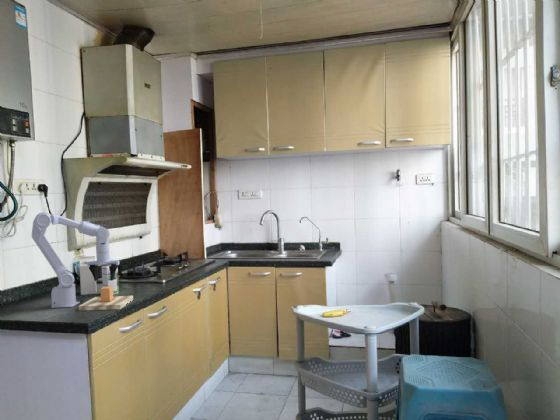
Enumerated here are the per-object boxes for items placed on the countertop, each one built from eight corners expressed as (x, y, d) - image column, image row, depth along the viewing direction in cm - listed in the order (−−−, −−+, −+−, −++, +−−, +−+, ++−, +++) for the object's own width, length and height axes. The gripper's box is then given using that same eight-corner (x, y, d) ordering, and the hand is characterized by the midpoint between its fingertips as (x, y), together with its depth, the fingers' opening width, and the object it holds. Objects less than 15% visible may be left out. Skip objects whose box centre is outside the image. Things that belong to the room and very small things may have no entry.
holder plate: (78, 310, 179) (78, 306, 179) (95, 301, 195) (94, 297, 195) (120, 309, 179) (120, 304, 179) (133, 299, 195) (132, 295, 195)
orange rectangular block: (101, 306, 185) (100, 288, 185) (104, 303, 189) (104, 286, 189) (110, 305, 185) (109, 288, 185) (113, 303, 189) (112, 286, 189)
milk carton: (81, 292, 215) (79, 256, 214) (96, 290, 217) (94, 255, 217) (81, 295, 208) (79, 258, 207) (96, 293, 211) (94, 256, 210)
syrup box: (108, 296, 205) (107, 267, 204) (102, 294, 209) (101, 266, 208) (119, 293, 209) (117, 265, 209) (113, 292, 213) (112, 264, 212)
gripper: (121, 250, 200) (122, 278, 201) (91, 251, 200) (92, 279, 200) (115, 252, 193) (117, 281, 194) (84, 253, 193) (86, 282, 193)
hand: (104, 280), depth 197 cm, fingers open, 7 cm apart
